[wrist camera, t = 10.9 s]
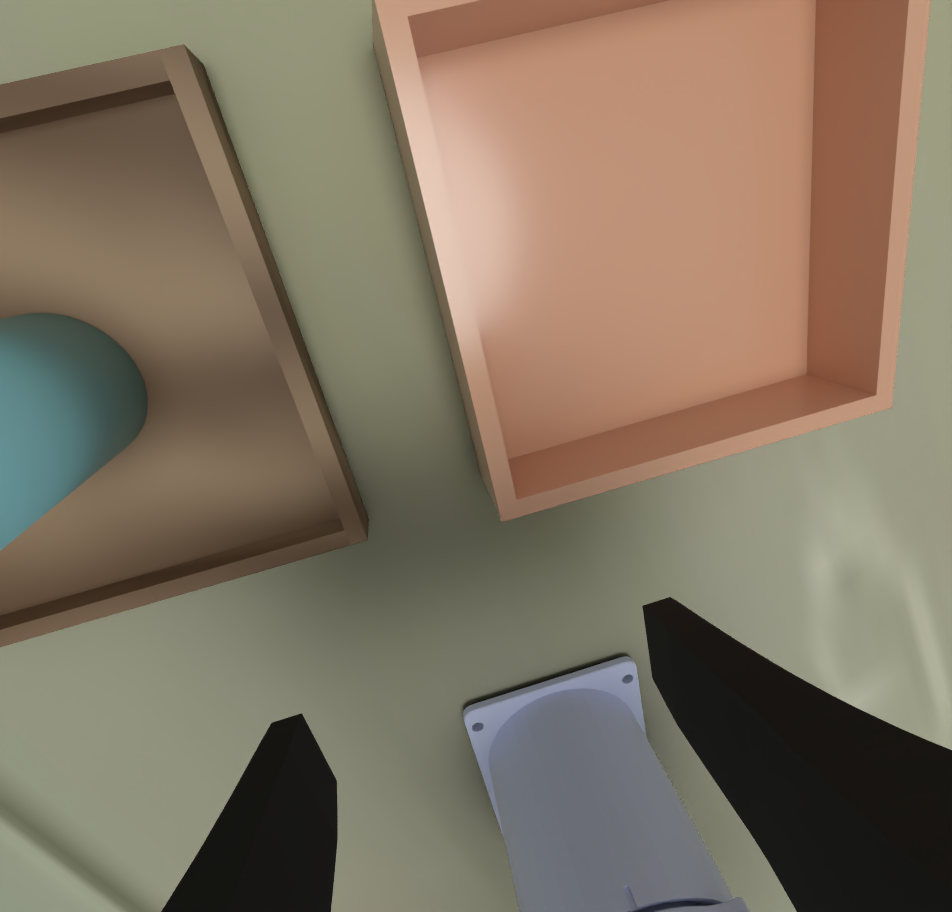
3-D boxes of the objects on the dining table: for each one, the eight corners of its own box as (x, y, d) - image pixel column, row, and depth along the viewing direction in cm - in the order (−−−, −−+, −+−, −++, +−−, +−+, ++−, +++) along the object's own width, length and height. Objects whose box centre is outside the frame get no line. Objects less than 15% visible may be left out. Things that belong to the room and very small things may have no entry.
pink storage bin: (810, 381, 20) (891, 407, 17) (481, 476, 19) (502, 522, 16) (823, -56, 15) (943, -138, 12) (373, 45, 14) (371, -13, 11)
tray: (368, 519, 19) (367, 540, 18) (-25, 632, 18) (-58, 664, 17) (203, 64, 14) (183, 44, 12) (-373, 193, 13) (-465, 187, 11)
